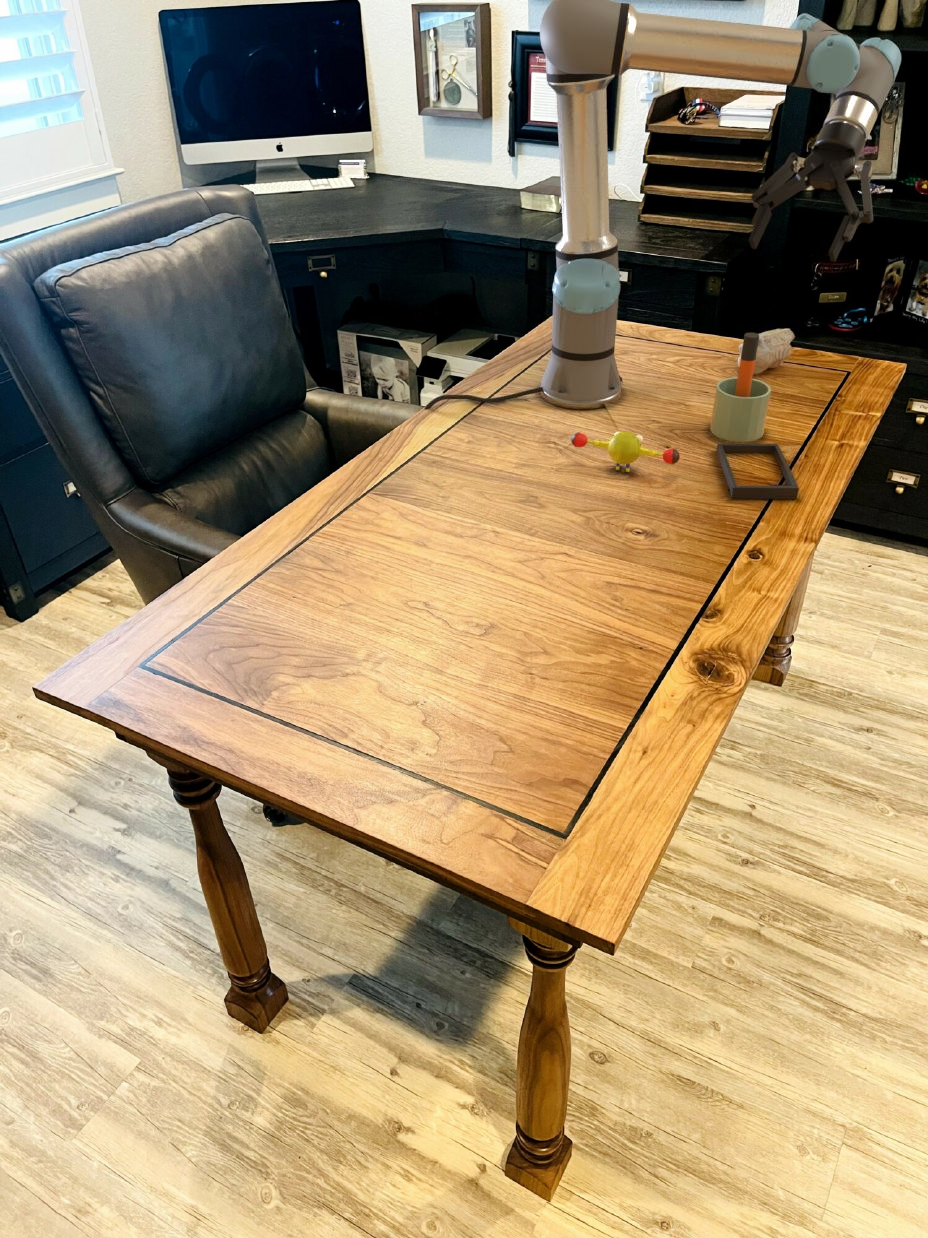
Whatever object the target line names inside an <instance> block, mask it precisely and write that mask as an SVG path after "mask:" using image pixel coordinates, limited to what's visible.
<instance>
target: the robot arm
mask: <svg viewBox="0 0 928 1238" xmlns="http://www.w3.org/2000/svg"><path fill="white" fill-rule="evenodd" d="M539 40H540V46H541V49H542V51H543V54H544V56H545V73H546V74H545V75H546V84H547V85H548V86H549V87H550V88H551V89H552V90H553V91H554V93H555V95H556V115H557V116H556V117H557V119H556V120H557V135H558V136H557V137H558V157H559V158H558V159H559V176H560V177H559V179H560V198H561V199H560V200H561V219H562V236H561V238H560V239H559V241H558V242H557V243H556V244H555V259H556V261H555V262H556V263H555V264H556V272H555V273H554V279H553V282H552V294H553V296H552V297H553V298H552V324H551V325H552V326H551V327H552V328H551V353H550V355H549V359H548V361H547V363H546V367H545V370H544V372H543V375H542V378H541V382H540V386H539V387H536V388H532V389H527V390H523V391H519V392H515V393H511V394H506V395H501V396H497V397H490V398H487V397H479V396H475V395H472V394H443V395H438V396H436V397H435V398H433V399H432V400H431V401H429V402H428V403H427V404H426V405H425V407H424V408H423V409H424V410H426V411H427V410H430V409H431V408H432V407H433V406H434V405H435V404H437V403H439V402H441V401H446V400H469V401H474V402H478V403H483V404H492V403H499V402H505V401H509V400H513V399H517V398H520V397H526V396H528V395H533V394H537V393H540V396H541V398H542V399H543V400H545V401H546V402H548V403H550V404H552V405H554V406H558V407H561V408H565V409H572V410H573V409H574V410H593V409H600V408H605V407H606V405H609V404H611V403H614V402H615V401H617V400H618V399H619V398H620V397H621V394H622V384H624V381H623V377H622V376H621V375H620V373H619V369H618V365H617V362H616V361H617V360H616V357H615V346H616V345H615V344H616V337H617V335H616V334H617V322H618V310H619V309H618V307H619V295H620V292H621V281H620V280H621V273H620V268H619V243H618V238H616V237H615V236H614V234H612V233H611V230H610V209H609V208H610V199H609V157H608V155H609V151H608V109H607V106H608V105H607V87H608V86H609V84H610V83H611V81H612V80H613V79H614V78H615V76H622V75H623V74H625V73H626V72H627V71H629V70H637V71H644V72H645V71H646V72H654V73H655V72H657V73H666V74H676V75H685V76H696V77H703V78H715V79H716V78H717V79H724V80H733V81H742V82H752V83H763V84H770V85H781V86H782V85H783V86H790V87H791V86H792V87H797V88H803V89H805V88H806V89H813V90H814V91H817V92H818V93H822V94H823V93H825V94H834V95H835V98H834V100H833V102H832V105H831V107H830V110H829V112H828V113H827V115H826V118H825V120H824V122H823V125H822V128H821V129H820V131H819V133H818V134H817V137H816V140H815V142H814V143H813V147H812V150H811V152H810V154H809V155H808V156H807V157H806V158H805V157H800V156H798V155H797V154H798V153H797V152H791V153H790V154H789V155H788V157H787V159H786V161H785V163H784V164H782V166H780V167H779V168H778V170H776V171H775V172H774V173H773V174H772V175H771V176H770V177H769V178H768V179H767V180H766V181H765V182H764V183H763V184H761V186H759V187H758V188H757V189H756V190H755V191H754V192H753V193H752V194H751V197H750V198H751V201H752V204H753V207H754V208H755V209H756V211H755V212H754V213H755V214H754V216H753V218H752V220H751V223H752V226H753V229H752V232H751V233H750V236H749V238H748V242H749V245H750V247H751V249H753V250H757V248H758V246H759V243H760V241H761V239H762V237H763V235H764V233H765V230H766V229H767V226H768V224H769V222H770V219H771V217H772V215H773V213H772V210H773V209H775V208H776V207H777V206H780V205H781V204H782V203H784V202H785V201H787V200H788V199H790V198H791V197H793V196H795V195H796V194H797V193H799V192H801V191H806V190H808V189H809V188H810V187H812V189H817V190H818V189H824V190H826V191H832V190H833V189H836V190H837V193H838V194H839V195H840V197H841V200H842V203H843V204H844V207H845V210H846V212H847V214H848V215H844V217H843V219H842V221H841V223H840V226H839V227H838V230H837V233H836V234H835V236H834V239H833V241H832V242H831V245H830V247H829V250H828V256H829V260H830V262H833V263H836V261H837V259H838V257H839V254H840V252H841V250H842V248H843V246H844V244H845V242H848V243H850V242H851V240H852V239H853V237H854V235H855V233H856V230H857V229H858V226H859V225H860V224H862V223H866V224H871V223H873V221H874V212H873V202H872V191H871V180H872V177H873V174H874V170H873V163H872V160H865V161H864V163H857V162H858V161H859V158H860V156H861V154H862V151H863V150H864V148H865V145H866V141H867V140H868V138H869V136H870V134H871V131H872V130H873V128H874V125H875V123H876V121H877V119H878V116H879V114H880V112H881V109H882V107H883V105H884V103H885V101H886V99H887V97H888V95H889V93H890V90H891V89H892V87H893V86H894V84H895V82H896V81H895V80H896V77H897V75H898V72H899V69H900V66H901V63H902V52H901V51H900V49H899V47H898V46H897V44H895V43H894V42H893V41H891V40H890V39H888V38H887V39H886V38H885V39H881V38H880V37H870V38H868V39H865V40H864V41H863V42H862V43H861V44H859V43H857V42H855V41H854V40H853V38H852V37H850V36H848V35H847V34H844V33H841V32H840V31H838V30H836V29H835V28H833V27H831V26H829V25H828V24H827V23H825V22H824V21H822V20H821V19H819V18H816V17H814V16H812V15H811V14H808V13H807V12H806V13H805V12H804V13H801V14H800V15H798V16H797V17H796V18H795V19H794V21H792V23H791V25H790V26H789V27H779V26H771V25H761V24H760V25H759V24H750V23H742V22H741V23H740V22H733V21H722V20H713V19H705V18H704V19H703V18H693V17H687V16H686V17H685V16H674V15H667V14H657V13H646V12H639V11H637V9H636V8H635V6H634V5H633V3H627V2H618V1H614V0H551V2H550V3H549V4H548V5H547V7H546V9H545V11H544V13H543V15H542V18H541V22H540V28H539ZM802 168H803V169H802ZM800 169H801V170H800ZM799 170H800V171H799ZM795 173H796V175H795V176H794V177H793V175H794V174H795ZM855 174H856V176H857V179H858V180H860V187H861V188H860V189H861V196H862V198H861V199H862V207H863V210H859V209H860V208H858V207H857V204H856V202H855V199H854V197H853V195H852V192H851V190H850V188H849V186H848V182H847V180H848V179H850V178H851V177H853V176H854V175H855ZM790 178H791V179H790ZM805 178H807V179H805Z"/></svg>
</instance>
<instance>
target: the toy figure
mask: <svg viewBox="0 0 928 1238" xmlns="http://www.w3.org/2000/svg"><path fill="white" fill-rule="evenodd" d="M570 441H571V444H572V446H574V447H575V448H584V447H586V445H587V444H591V445H592V446H593V447H595V448H600V449H604V450H606V451H607V452H608V455H609V457H610V458H611V460H612V461H613V462H615V463H616V465H615V466H616V467H615V469H614V471H615V472H621V470H622V469H623V468H622V467H623V466H625V471H624V473H626V474H630V472H631V464H633V463H634V462H635V461H637V460H638V458H639V457H642V456H646V457H650V458H655V457H662V460H663V462H665V463H666V464H668V465H675V464H677V463H678V462H679V461H680V457H681V456H680V452H679V451H678V450H677V449H675V448H673V449H672V448H670V449H669V448H668V449H666V450H664V451H663V453H662V452H657V451H656V450H654V449H649V448H645V447H644V446H642V444H641V443H643V441H644V437H643V436H642V435H641V434H638V435H636V434H635V433H632V432H629V431H616V432H615V433H614V435H613V436H612V438H611V439H610V440H608V441H607V440H606V441H602V440H598V439H595V440H589V439H588V437H587V435H586V434H585V433H581V432H576V433H574V434H573V435H572V436H571V439H570ZM621 465H623V466H621Z"/></svg>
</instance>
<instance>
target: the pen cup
mask: <svg viewBox="0 0 928 1238" xmlns="http://www.w3.org/2000/svg"><path fill="white" fill-rule="evenodd" d="M737 379H738V376H735V377H728V378H724V379H721V380H719V381H718V382H717V383H716V385H715V392H714V398H713V404H712V405H713V406H712V412H711V413H712V414H711V420H710V427H709V429H710V430H709V431H710V432H711V434H712V435H714V436H715V437H716V438H718V439H721V440H724V441H728V442H733V443H734V442H735V443H747V442H748V443H750V442H754V441H757V440H759V439H761V438H762V437H763V435H764V434H765V427H766V423H767V416H768V410H769V405H770V400H771V394H772V387H771V386H770V385H769V384H768V383H766V382H764V381H762V380H759V379H755V378H752V384H751V390H750V396H749V397H738V396H735V392H736V386H737Z"/></svg>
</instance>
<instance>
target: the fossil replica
mask: <svg viewBox="0 0 928 1238" xmlns="http://www.w3.org/2000/svg"><path fill="white" fill-rule="evenodd" d="M758 334H759V342H758V348H757V354H756V360H755V366H754V372H753V375H760V374H761V373H763V372H764V371H766V370H768V369H776V368H777V367H779V366H781V365H782V364H783V363H784V362H785V361H786V360H788V359H789V358H790V357H791V354H792V345H791V342H792V341H793V340H794V339H795V337H796V336H795V334H794V332H793V331H792V330H791V328H776V329H771V330H766V331H763V332H761V333H758ZM742 347H743V342H742V343H740V344H739V345H738V348H737V349H738V352H739V356H738V359H737V366H738V367H739V366H740V360H741V354H742Z"/></svg>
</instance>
